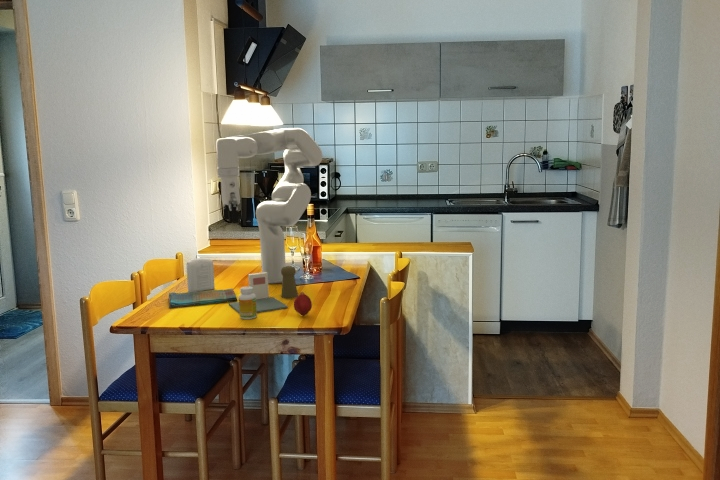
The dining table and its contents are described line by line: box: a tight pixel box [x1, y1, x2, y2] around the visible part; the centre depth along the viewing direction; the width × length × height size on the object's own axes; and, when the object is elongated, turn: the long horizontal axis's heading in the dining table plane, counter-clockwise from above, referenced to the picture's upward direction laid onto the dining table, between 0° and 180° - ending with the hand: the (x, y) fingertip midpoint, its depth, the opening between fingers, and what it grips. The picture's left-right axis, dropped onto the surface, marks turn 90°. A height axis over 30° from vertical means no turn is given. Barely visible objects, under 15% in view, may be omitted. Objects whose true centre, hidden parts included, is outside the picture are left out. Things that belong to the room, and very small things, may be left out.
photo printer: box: [186, 257, 216, 293], centre depth 255 cm, size 10×4×12 cm, turn 123°
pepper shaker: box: [280, 265, 299, 300], centre depth 242 cm, size 6×6×11 cm
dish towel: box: [168, 288, 238, 309], centre depth 243 cm, size 17×23×2 cm
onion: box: [293, 291, 313, 317], centre depth 217 cm, size 6×6×8 cm
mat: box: [228, 296, 289, 315], centre depth 230 cm, size 16×15×1 cm
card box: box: [247, 271, 270, 299], centre depth 241 cm, size 6×2×9 cm, turn 116°
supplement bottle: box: [238, 286, 258, 320], centre depth 217 cm, size 5×5×10 cm
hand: (230, 220), depth 245 cm, fingers open, 9 cm apart
